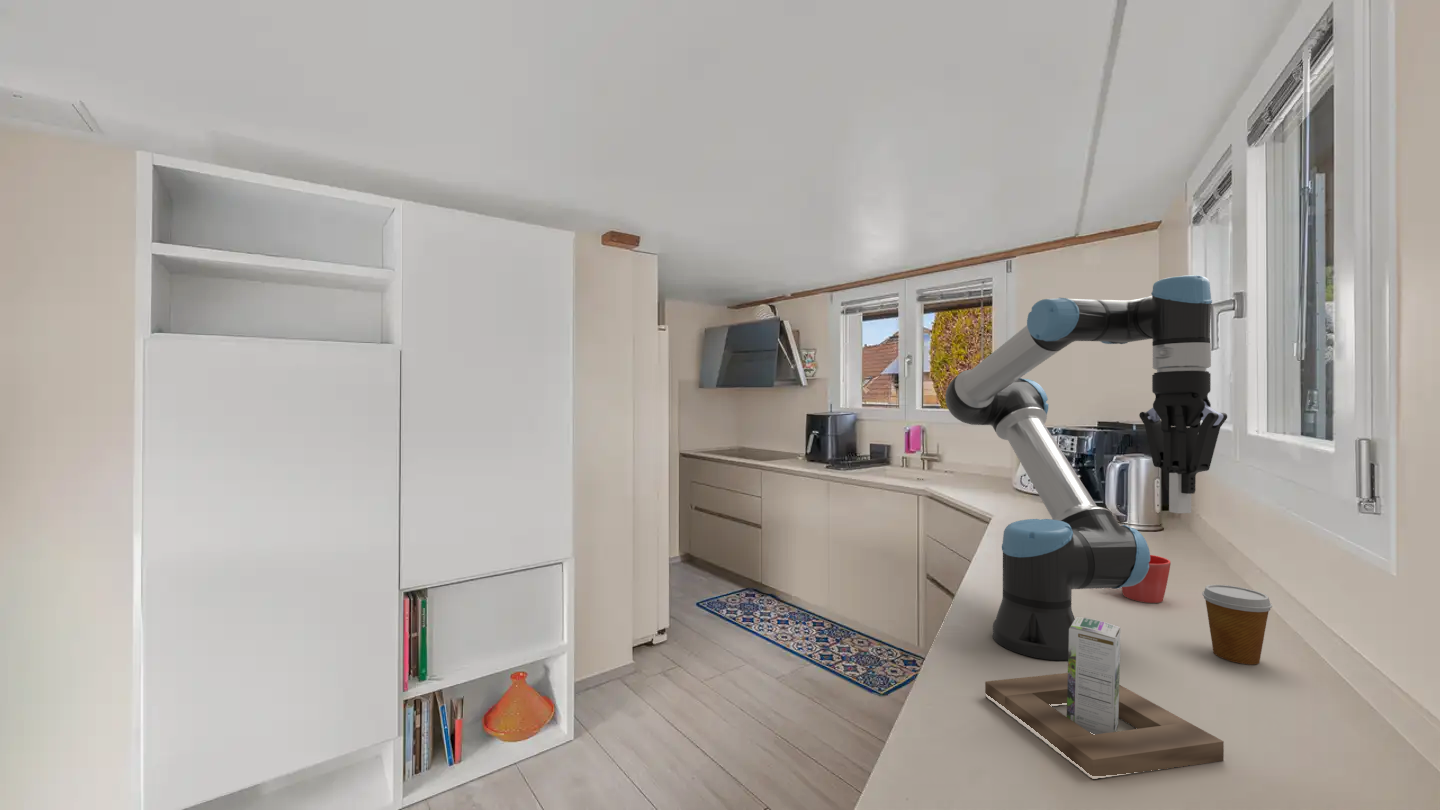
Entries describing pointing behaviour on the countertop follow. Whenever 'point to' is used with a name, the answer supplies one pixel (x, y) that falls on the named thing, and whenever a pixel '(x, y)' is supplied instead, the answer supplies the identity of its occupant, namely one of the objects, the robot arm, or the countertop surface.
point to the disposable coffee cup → (1236, 622)
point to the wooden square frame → (1113, 753)
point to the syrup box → (1093, 675)
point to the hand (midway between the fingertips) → (1180, 512)
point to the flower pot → (1151, 582)
